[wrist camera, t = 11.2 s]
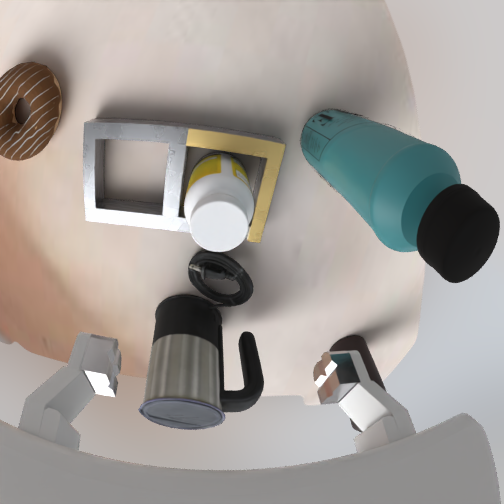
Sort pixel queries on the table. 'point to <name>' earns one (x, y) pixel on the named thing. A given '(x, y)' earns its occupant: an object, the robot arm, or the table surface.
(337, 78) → the table surface
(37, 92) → the donut
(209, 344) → the milk frother
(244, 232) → the supplement bottle
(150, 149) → the table surface
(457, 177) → the beverage bottle
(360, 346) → the vinegar
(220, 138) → the grey compartment tray
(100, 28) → the table surface
